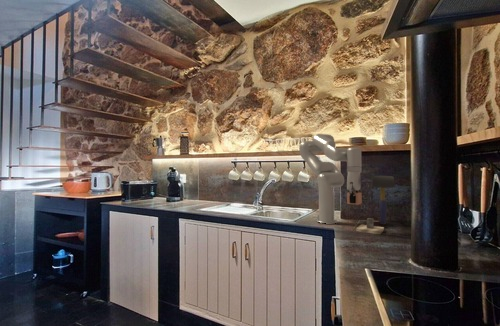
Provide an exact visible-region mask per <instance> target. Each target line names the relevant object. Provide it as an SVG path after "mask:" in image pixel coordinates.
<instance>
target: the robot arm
mask: <svg viewBox="0 0 500 326" xmlns="http://www.w3.org/2000/svg"><path fill="white" fill-rule="evenodd" d="M298 147H299V149H298V151H299V155H300V157H301V159H302V160H303V161H304V162H305V163H306V164H307V167H308V168H309V169H310V170H311V171H312V173H313V174H314V175H315V176H316V177H317V178H316V182H317V188H318V214H312V217H313V218H315V219H316V220H315V222H316V221H317V222H316V223H318V222H320V223H319V224H322V223H326V224H325V225H334V224H335V223H336V224H338V221H337V220H336V219H335V192H334V190H333V189H332V188H340V187H341V188H342V186H343V185H344V184H345V176H344V175H343V174H342V171H340V169H339V168H338V167H337V166H336V165H335V164H334V163H333V162H329V161H322V160H320V158H319V157H318V156H317V155H316V154H322V153H323V154H324V155H325V157H327V159H330V160H331V161H335V162H346V173H347V178H346V190H347V191H349V192H348V193H349V200H350V203H356V196H355V192H357V193H360V190H361V187H362V186H361V185H362V184H361V180H362V179H361V173H362V172H363V171H362V167H363V166H362V148H361V147H348V148H345V147H344V148H343V147H336V141H335V137H334V136H333V135H331V134H327V133H324V134H323V133H317V134H315V135H314V136H313V137H312V140H305V141H302V142H301V143H300V144H299V146H298ZM336 224H335V225H336Z"/></svg>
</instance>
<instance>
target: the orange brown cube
mask: <svg viewBox="0 0 500 326" xmlns="http://www.w3.org/2000/svg"><path fill="white" fill-rule="evenodd" d="M362 195H363V193H362V192H359V193H357V192H355V196H356V203H350V200H349V192H347V193H346V199H347V200H346V201H347V202H346V204H348V205H349V204H350V205H358V206H359V205H361V204H363V199H362V198H363V197H362Z"/></svg>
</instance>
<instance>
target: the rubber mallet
mask: <svg viewBox="0 0 500 326" xmlns="http://www.w3.org/2000/svg"><path fill="white" fill-rule="evenodd" d="M395 183H396V182H395V177H394V176H391V175H372V176H371V186H372V187H373V188H380V200H379V220H378V221H379V223H380V225H386V224H387V201H386V188H387V189H388V188H394V187H395Z"/></svg>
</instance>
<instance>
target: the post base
mask: <svg viewBox="0 0 500 326" xmlns="http://www.w3.org/2000/svg"><path fill="white" fill-rule="evenodd" d="M374 220H375V219H374V218H371V217H368V218H366V224H360V225H358V226H357V227H356V228H355V231H356V232H360V233H366V234H367V233H369V234H373V235H374V234H375V235H381V234H382V233H383V232H384V231H385V227H384V226H376V225H374V223H375V222H374Z"/></svg>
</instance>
